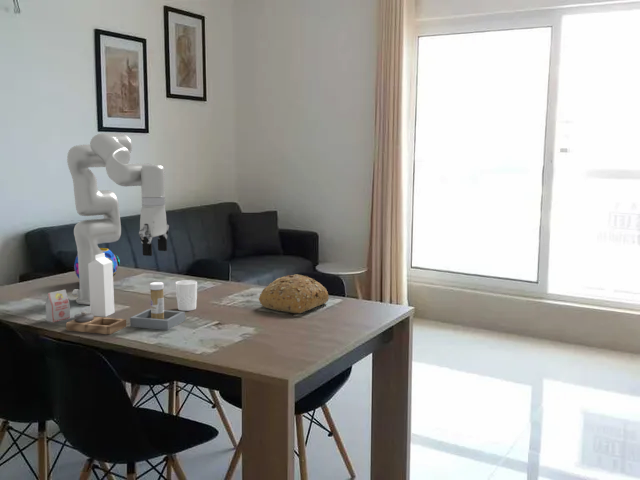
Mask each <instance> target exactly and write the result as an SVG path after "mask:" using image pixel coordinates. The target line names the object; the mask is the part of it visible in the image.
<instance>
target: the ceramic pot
mask: <svg viewBox="0 0 640 480" xmlns="http://www.w3.org/2000/svg"><path fill="white" fill-rule="evenodd" d="M99 248H100V249H101V251H102V252H103V253H105V257H106V258H108V259H109V260H111V261H112V265H113V278H114V277H115V275H116V274H117V269H118V267H119V266H120V264H121V263H120V262H121V261H120V258H119V256H118V255H116V254H114V253H113V251H112V250H111V249H109V248H106V247H105V248H104V247H99ZM73 264H74V266H73V269H74V273H75V275H76V277H77V278H78V279H79V266H78V254H77V255H76V256H75V260H74V263H73Z"/></svg>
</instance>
